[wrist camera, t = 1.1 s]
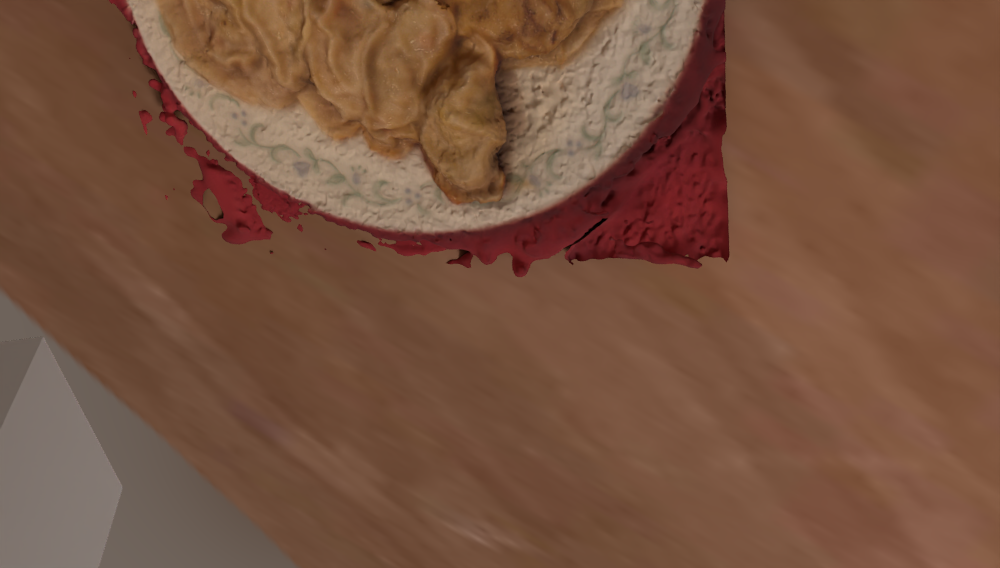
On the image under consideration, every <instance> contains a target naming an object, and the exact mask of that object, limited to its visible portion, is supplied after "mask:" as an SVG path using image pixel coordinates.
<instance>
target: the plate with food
mask: <svg viewBox="0 0 1000 568" xmlns="http://www.w3.org/2000/svg"><path fill="white" fill-rule="evenodd" d="M109 1H110V3H112V4H113V3H114V4H115V5H116V6H117V8H118V9H119V10H120V11H121V12H122V14H123V15H124V16H125V18H126V19H127V20H128V21H130V22H131V24H133V23H134V24H135V26H136V27H137V28H134V29H133V35H134V37H135V38H136V39H137V43H136V49H137V52H138V53H139V54H140V56H141V57H142V59H143V64H144V65H146V66H148V67H150V68H153V69H154V70H156V72H157V74H158V76H159V78H160V79H161V81H162V83H160V82H159V81H157V80H155V79H151V80H149V86H151V87H152V88H154V89H155V90H157V91H160V92H161V98H162V101H163V105H162V108H163V110H164V112H161V113H160V116H159V119H160V120H161V121H163V122H166V123H167V124H168V125H170V126H172V127H171V128H169V129H168V130H167V131H166V134H167V135H169V136H170V135H173V136H175V137H176V139H177V142H178V143H180V144H181V145H183V138H184V136H185V135H186V134H187V129H188V125H187V123H186V122H185V121H184V120H181V119H179V118H178V117H176V116H175V114H174V113H173V112H174V111H175V110H179V111H181V113H182V114H183V115H184V116H185V117H187V118H188V119H189V122H190V124H192V125H193V126H194V127H196V128H197V129H198V130H201V131H202V132H203V133H204V134H205V135H206V139H207V141H209V142H211V143H212V144H213V147H215V148H216V149H217V151H219V152H222V153H225V155H226V157H225V158H224V159H225V160H226V161H233V162H236V166H237V167H238V168H239V169H240V170H242V171H244V172H245V174H247V175H248V176H250V177H251V179H249V182H250V183H251V184H252V186H253V187H254V189H253V196H254V197H255V198H256V199H257V200H258V201H259V202H260V203H261V204H262V207H261V208H262V209H263V210H268V211H270V212H271V213H273V212H276V213H277V214H278V216H279V217H280V218H281V219H282V220H284V221H286V222H291V219H290V218H289V217H290V216H291V217H293V218H295V219H299V218H298V215H302V213H301V212H299V211H298V210H299V208H302V207H304V205H308V206H309V207H310V209H308V213H310V214H318V215H321V216H322V217H324V218H325V220H326V221H330V222H335V223H336V224H337V225H340V226H346V227H347V228H349V229H353V230H355V229H360V230H362V231H367V232H369V233H371V234H372V236H374V237H376V238H379V239H380V240H382V239H381V238H385V239H388V240H395V241H396V244H391V245H389V244H387V243H386V242H385V244H383V243H382V242H381V241H380V242H379V243H378V244H379V245H381V246H386V247H389V248H392V249H394V250H395V251H396V252H397V253H398V254H401V255H403V256H412V255H415V254H421V255H427V254H428V253H430V252H438V251H443V250H446V249H463V250H467V251H470V252H468V253H466V254H464V255H463V256H462V257H460V258H459V259H456V260H451V261H449V262H448V264H461V265H463V266H465V267H467V268H469V267H470V268H471V264H470V262H471V259H472V257H473V255H475V256H477V257H478V258H479V259H480V260H481V262H482V263H484V264H485V265H488V264H492V263H493V262H494V261H495V260H496V259H497V256H498V255H500V254H502V253H507V252H508V253H510V254H511V255H512V256H513V260H512V267H513V271H514V273H515V275H516V276H517V277H523V276H525V275H526V274H527V272H528V269H529V268H530V264H531V263H532V262H533V261H535V260H540V259H548V258H550V257H551V256H553V255H555V254H556V253H559V251H561V250H562V249H563V248H565V247H567V246H568V245H571V244H573V243H574V242H575V241H576V240H578V239H580V238H581V237H582V236H583V235H585V234H584V233H585V232H588V229H589V228H592V226H593V225H594V224H596V223H598V222H600V221H601V220H602V218H604V219H606V218H608V219H607V220H606V221H605V222H603V223H602V224H601V225H600V226H598V227H596V228H595V229H594V230H592V231H591V232H590V233H589V234H588V235H587V236H585V237H584V238H582V239H580V240H579V241H578V242H577V243H576V244H574V245H572V246H571V247H570V249H569V250H568V251H567V252H566V254H565V259H566V260H568V261H569V263H571V264H572V265H573V263H572V262H571V260H573V259H577V260H578V261H586V260H588V259H605V258H627V259H642V260H647V261H649V262H651V263H655V264H672V263H674V264H680V265H684V266H687V267H690V268H697V269H698V268H699V267H701V266H702V264H701V263H700V262H698V261H697V260H698V259H700V258H701V257H703V256H709V257H713V258H715V257H722V258H724V260H725V261H726V262H727V260H728V258H729V233H728V199H727V181H726V180H727V178H726V177H725V173H724V168H723V157H722V152H721V146H722V135H723V134H725V131H726V127H727V124H726V112H725V108H726V102H725V98H726V90H725V62H726V52H725V29H724V10H725V0H109ZM129 59H130V58H129ZM133 95H134V97H136V92H135V91H133ZM139 115H140V118H141V121H142V124H143V127H144V130H145V133H146V135H147V128H146V124H147V123H149V122H150V121H151V120H152V116H151V115H150V114H149V113H148V112H147V111H146V110H143V111H139ZM184 152H185V153H186V154H187V155H188V156H190V157H194V158H196V159H197V160H198V163H199V165H200V168H201V171H202V174H203V180H194V181H193V185H194V188H193V189H192V190H191V195H192V197H193V198H194V199H195V200H197V201H198V202H199V203H200V204H202V206H203V193H204V191H205V190H206V189H208V188H210V190H211V191H212V193H213V194H214V195H215V196H216V198H217V200H218V203H219V205H220V207H221V209H222V211H223V213H224V218H223V219H218V220H215V219H213V218H211V217H210V218H211V219H212V220H213V221H214V222H216V223H223V224H226V225H227V230H226V231H224V232H223V233H222V238H223V239H224V240H225V241H226V242H229V243H231V244H244V243H246V242H248V241H252V240H263V239H270V238H271V234H272V233H273V232H272V231H271V230H269V229H267V228H266V227H265V226H264V225H263V223H262V220H261V218H260V216H259V215H258V213H257V211H256V206H255V205H253V204H252V197H251V196H250V195H248V194H245V193H246V192H247V189H246V188H242V182H241V180H240V179H239V178H238V177H236V176H235V175H234V174H233V173H232V172H230V171H227V170H225V169H224V168H222V167H221V166H219V165H218V161H217V160H214V159H212V160H208V159H207V158H206V157H203V156H199V155H198V154H197V152H196V150H195V149H194V148H192V147H184ZM206 154H207V155H208V157H209V154H210V152H209V150H208V151H207V152H206ZM173 190H175V189H173ZM244 194H245V195H246V196H244ZM165 197H166V200H167V197H168V196H166V195H165ZM300 202H301V204H300V205H299V204H298V203H300ZM203 207H204V206H203ZM204 208H205V207H204ZM207 212H208V211H207ZM308 213H304V215H308ZM208 214H209V213H208ZM280 215H283V217H281V216H280ZM209 216H210V215H209ZM297 228H298V229H299V230H300V231H301V232H302V231H303V228H302V225H300V224H299V226H298V227H297ZM416 242H420V243H421V244H422V246H421V245H418V244H416ZM357 243H358V244H359V245H361V246H362V247H365V248H369V249H371V250H373V251H376V249H375V248H374V247H373V245H372V244H371V243H368V242H365V241H359V240H358V241H357ZM413 245H414V246H413ZM325 250H326V249H325ZM270 254H273V252H271V253H270ZM687 254H688V255H689V257H686V256H685V255H687Z"/></svg>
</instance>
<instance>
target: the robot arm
mask: <svg viewBox="0 0 1000 568" xmlns="http://www.w3.org/2000/svg"><path fill="white" fill-rule="evenodd" d="M122 488H123V487H122V485H121V483H120V481H119V479H118V477H117V476H116V474H115V472H114V470H113V468H112V466H111V464H110V463H109V460H108V459H107V457H106V455H105V453H104V451H103V449H102V447H101V445H100V443H99V441H98V439H97V438H96V436H95V434H94V432H93V430H92V428H91V426H90V424H89V422H88V420H87V419H86V417H85V415H84V413H83V411H82V409H81V407H80V405H79V403H78V402H77V400H76V398H75V396H74V394H73V392H72V390H71V388H70V386H69V384H68V383H67V381H66V379H65V377H64V375H63V373H62V371H61V369H60V367H59V365H58V363H57V362H56V360H55V358H54V356H53V354H52V352H51V350H50V348H49V346H48V344H47V343H46V341H45V339H44V337H35V338H28V339H19V340H11V341H5V342H0V568H99V564H100V561H101V558H102V554H103V551H104V548H105V545H106V541H107V538H108V534H109V531H110V527H111V525H112V521H113V518H114V514H115V511H116V508H117V505H118V501H119V498H120V495H121V491H122Z"/></svg>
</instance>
